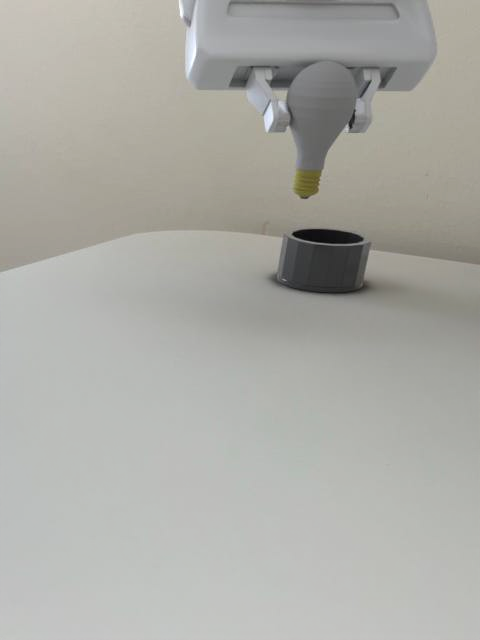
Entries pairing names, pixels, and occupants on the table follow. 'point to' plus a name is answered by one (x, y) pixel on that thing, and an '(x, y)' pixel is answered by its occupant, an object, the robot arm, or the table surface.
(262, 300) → the table surface
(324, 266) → the socket
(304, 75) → the light bulb
